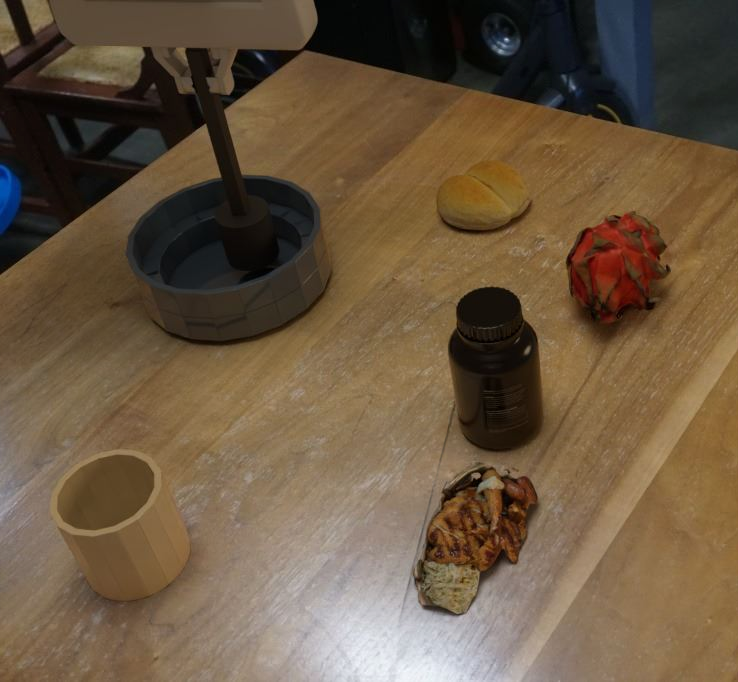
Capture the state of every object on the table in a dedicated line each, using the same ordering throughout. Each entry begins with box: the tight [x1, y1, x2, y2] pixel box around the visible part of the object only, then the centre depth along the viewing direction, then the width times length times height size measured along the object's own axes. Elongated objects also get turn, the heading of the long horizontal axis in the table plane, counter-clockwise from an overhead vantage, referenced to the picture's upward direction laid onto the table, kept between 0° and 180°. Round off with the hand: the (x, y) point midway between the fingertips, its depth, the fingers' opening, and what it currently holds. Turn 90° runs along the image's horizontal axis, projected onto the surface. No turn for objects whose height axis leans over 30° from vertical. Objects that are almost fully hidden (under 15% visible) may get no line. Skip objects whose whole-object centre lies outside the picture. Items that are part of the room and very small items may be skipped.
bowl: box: [125, 174, 332, 342], centre depth 100 cm, size 17×17×6 cm
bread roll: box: [435, 160, 532, 231], centre depth 107 cm, size 8×9×4 cm
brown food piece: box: [412, 457, 539, 615], centre depth 78 cm, size 7×12×4 cm, turn 163°
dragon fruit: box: [565, 210, 672, 325], centre depth 95 cm, size 8×8×12 cm
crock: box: [48, 448, 191, 602], centre depth 77 cm, size 7×7×8 cm
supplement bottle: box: [447, 286, 544, 450], centre depth 83 cm, size 7×7×12 cm
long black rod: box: [184, 48, 280, 271], centre depth 94 cm, size 5×5×21 cm
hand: (207, 90), depth 90 cm, fingers closed on long black rod
